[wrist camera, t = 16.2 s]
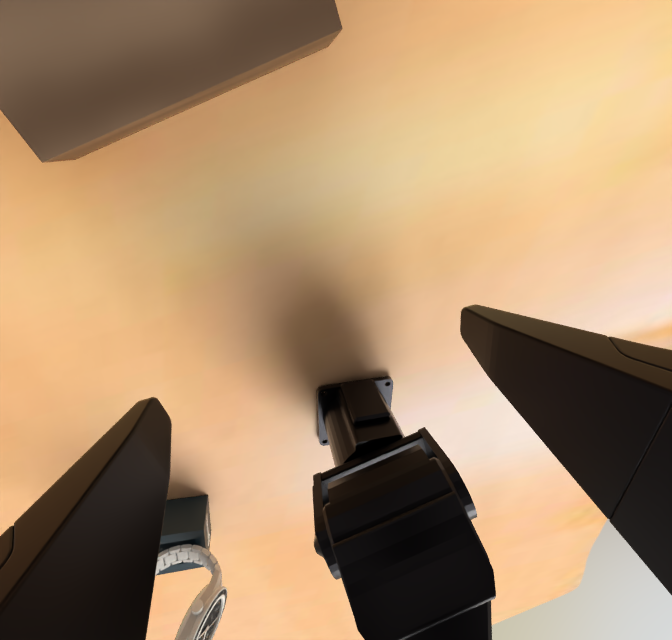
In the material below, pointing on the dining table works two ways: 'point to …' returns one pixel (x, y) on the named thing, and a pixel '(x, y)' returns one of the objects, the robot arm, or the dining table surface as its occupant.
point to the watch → (192, 563)
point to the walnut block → (139, 61)
